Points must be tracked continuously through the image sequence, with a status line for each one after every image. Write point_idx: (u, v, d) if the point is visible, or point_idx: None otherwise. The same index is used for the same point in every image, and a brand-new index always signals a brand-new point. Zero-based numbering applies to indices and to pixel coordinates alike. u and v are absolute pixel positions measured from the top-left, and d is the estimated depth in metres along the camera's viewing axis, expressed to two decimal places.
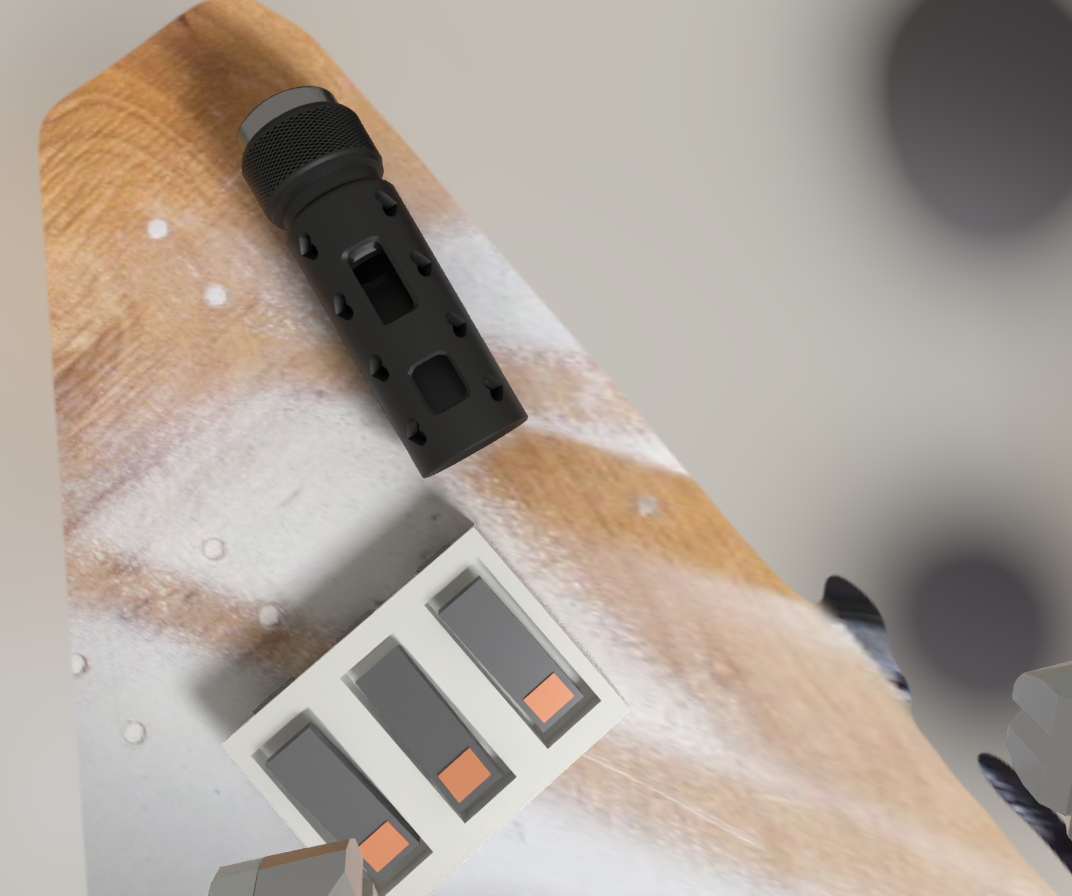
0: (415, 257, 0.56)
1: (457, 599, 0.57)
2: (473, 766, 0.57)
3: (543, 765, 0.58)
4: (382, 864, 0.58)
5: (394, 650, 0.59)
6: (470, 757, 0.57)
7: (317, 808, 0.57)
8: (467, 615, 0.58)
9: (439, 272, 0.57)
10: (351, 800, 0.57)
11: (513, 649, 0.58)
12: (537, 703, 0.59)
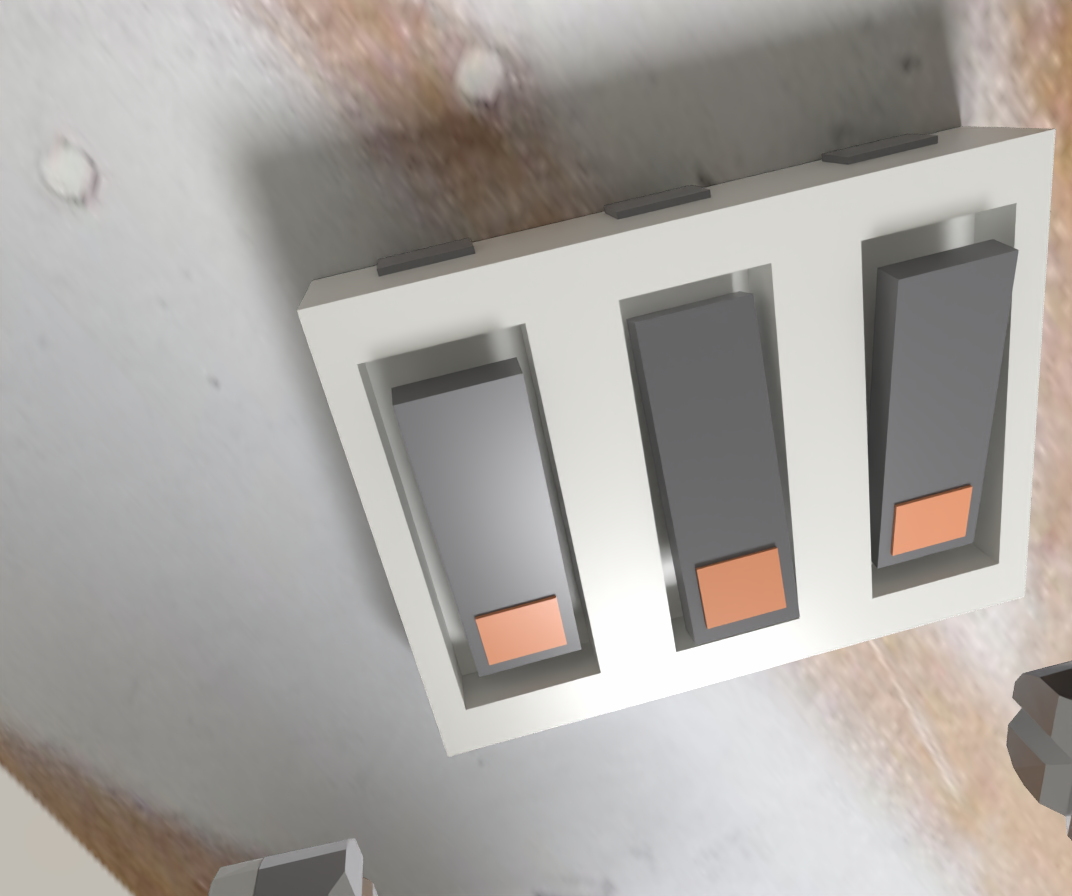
0: None
1: (951, 268, 0.25)
2: (764, 580, 0.29)
3: (849, 619, 0.31)
4: (503, 655, 0.30)
5: (743, 300, 0.26)
6: (767, 563, 0.28)
7: (450, 527, 0.26)
8: (940, 310, 0.25)
9: None
10: (518, 539, 0.27)
11: (951, 415, 0.28)
12: (907, 520, 0.30)
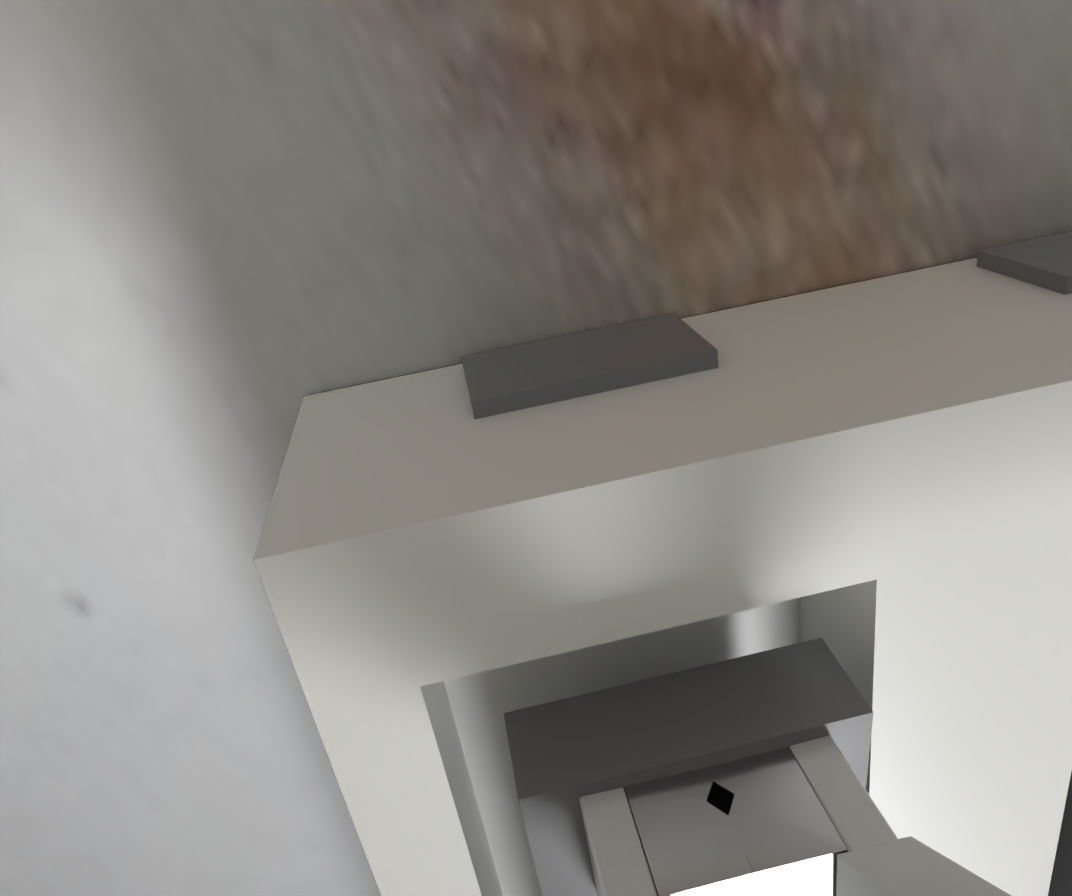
0: None
1: None
2: None
3: None
4: None
5: None
6: None
7: None
8: None
9: None
10: None
11: None
12: None
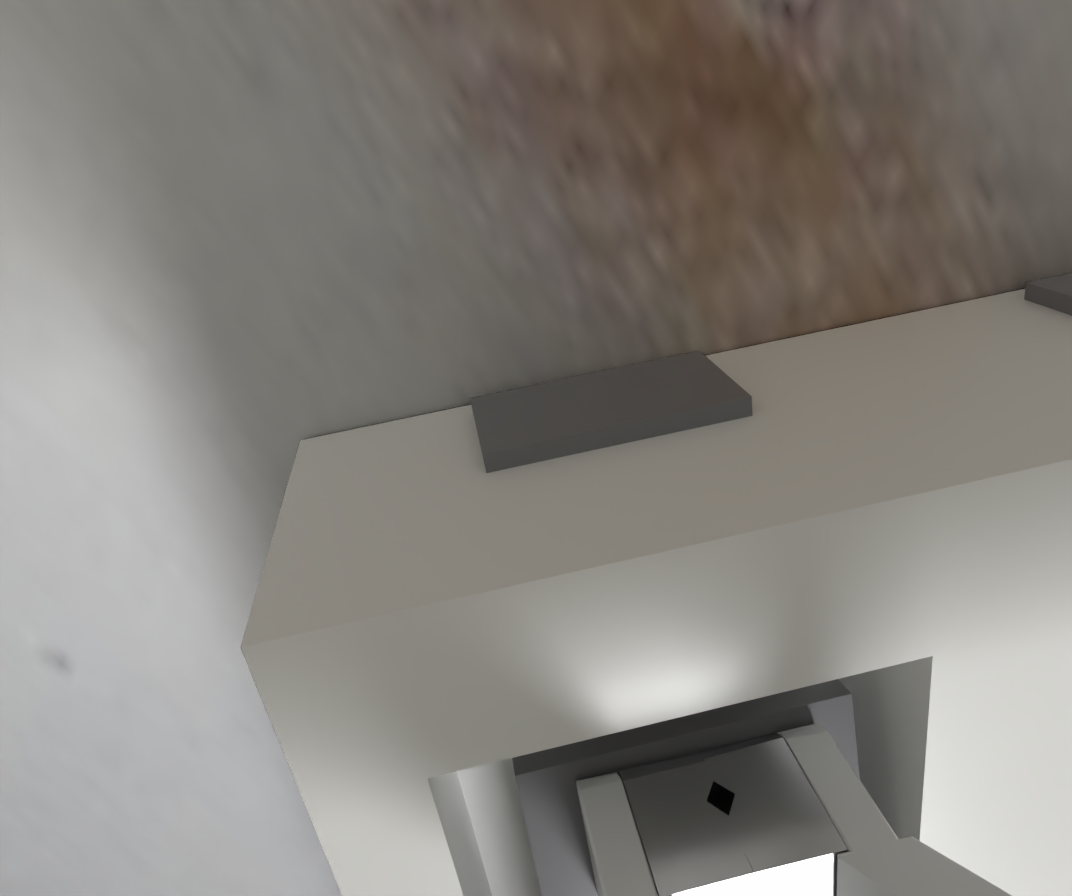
0: None
1: None
2: None
3: None
4: None
5: None
6: None
7: None
8: None
9: None
10: None
11: None
12: None
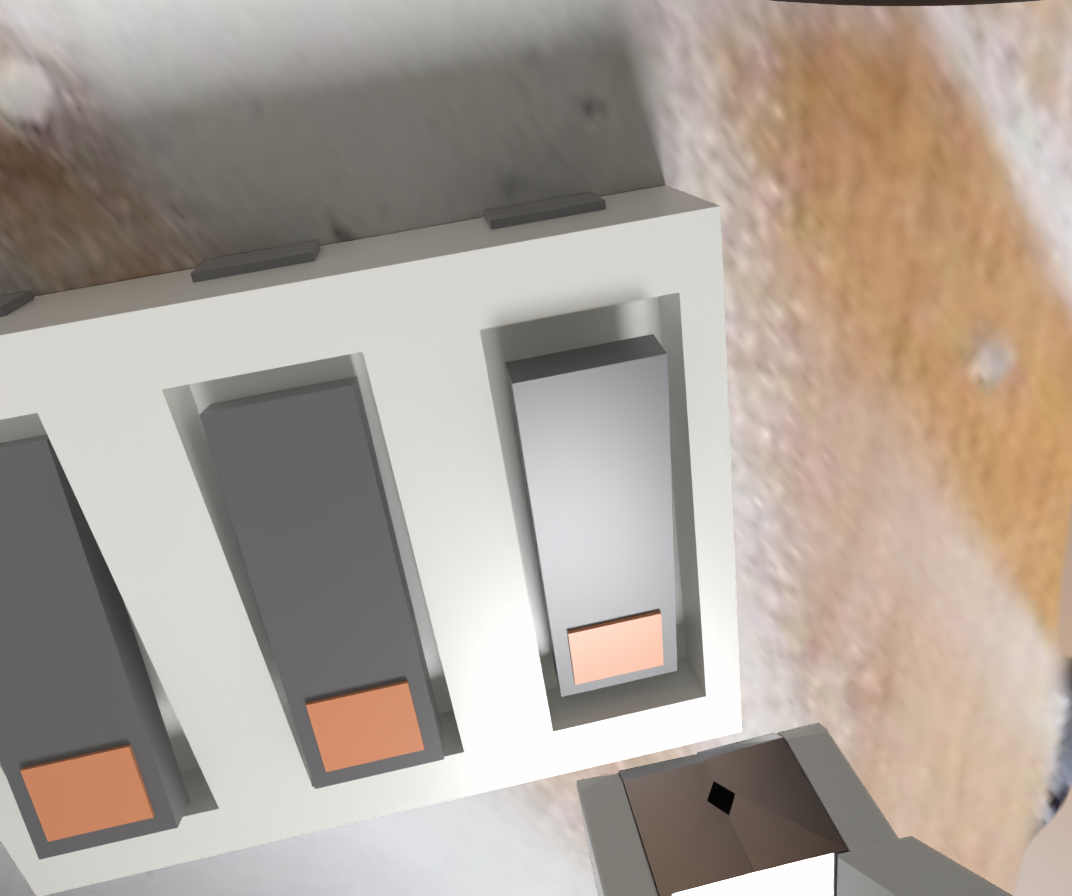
0: None
1: (581, 372, 0.20)
2: (395, 717, 0.24)
3: (527, 753, 0.27)
4: (69, 829, 0.23)
5: (340, 392, 0.21)
6: (398, 699, 0.24)
7: None
8: (577, 420, 0.21)
9: None
10: (69, 660, 0.22)
11: (619, 536, 0.23)
12: (588, 647, 0.25)
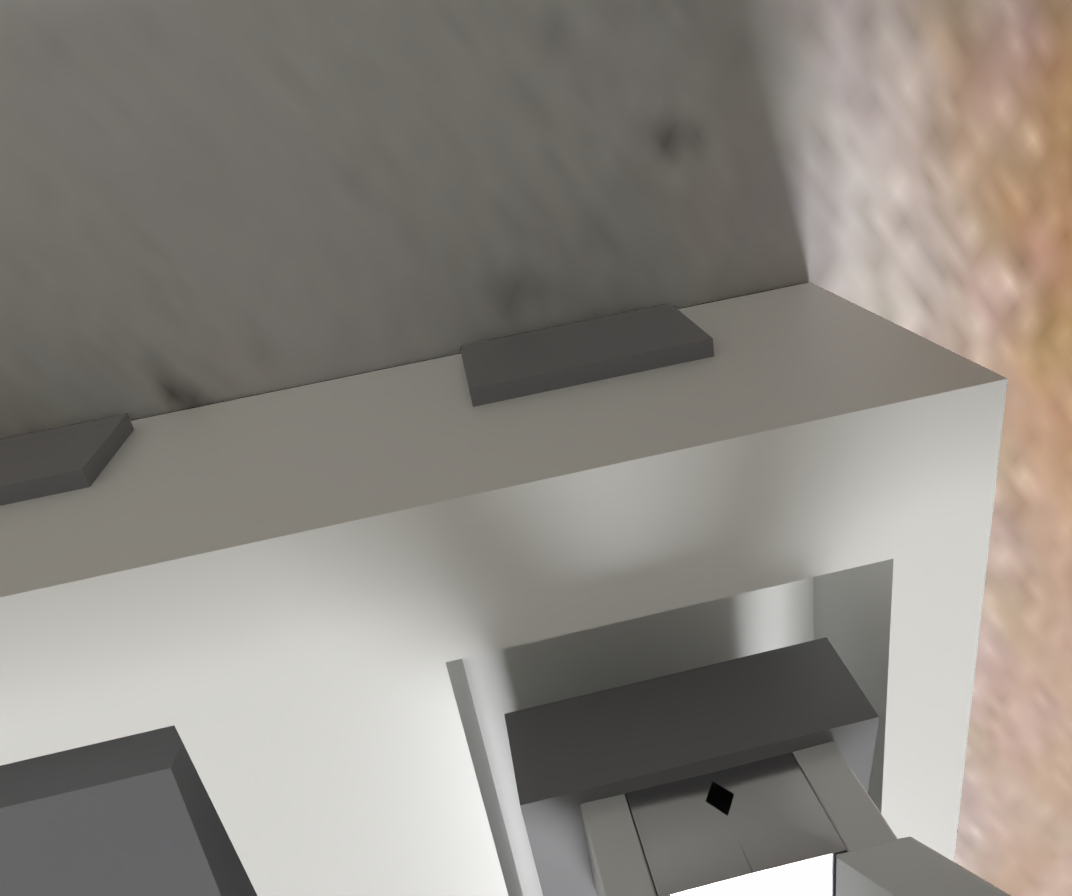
0: None
1: (681, 766, 0.09)
2: None
3: None
4: None
5: (144, 784, 0.09)
6: None
7: None
8: None
9: None
10: None
11: None
12: None
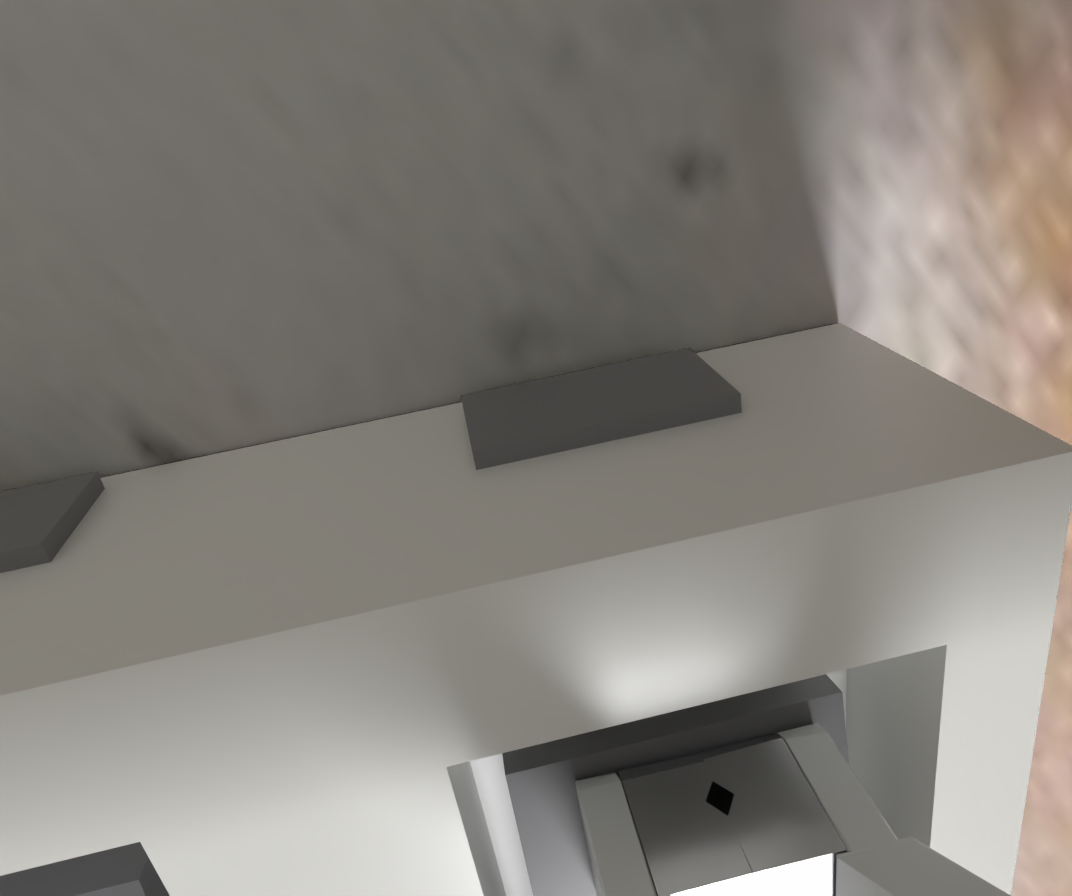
0: None
1: (657, 740, 0.09)
2: None
3: None
4: None
5: None
6: None
7: None
8: None
9: None
10: None
11: None
12: None
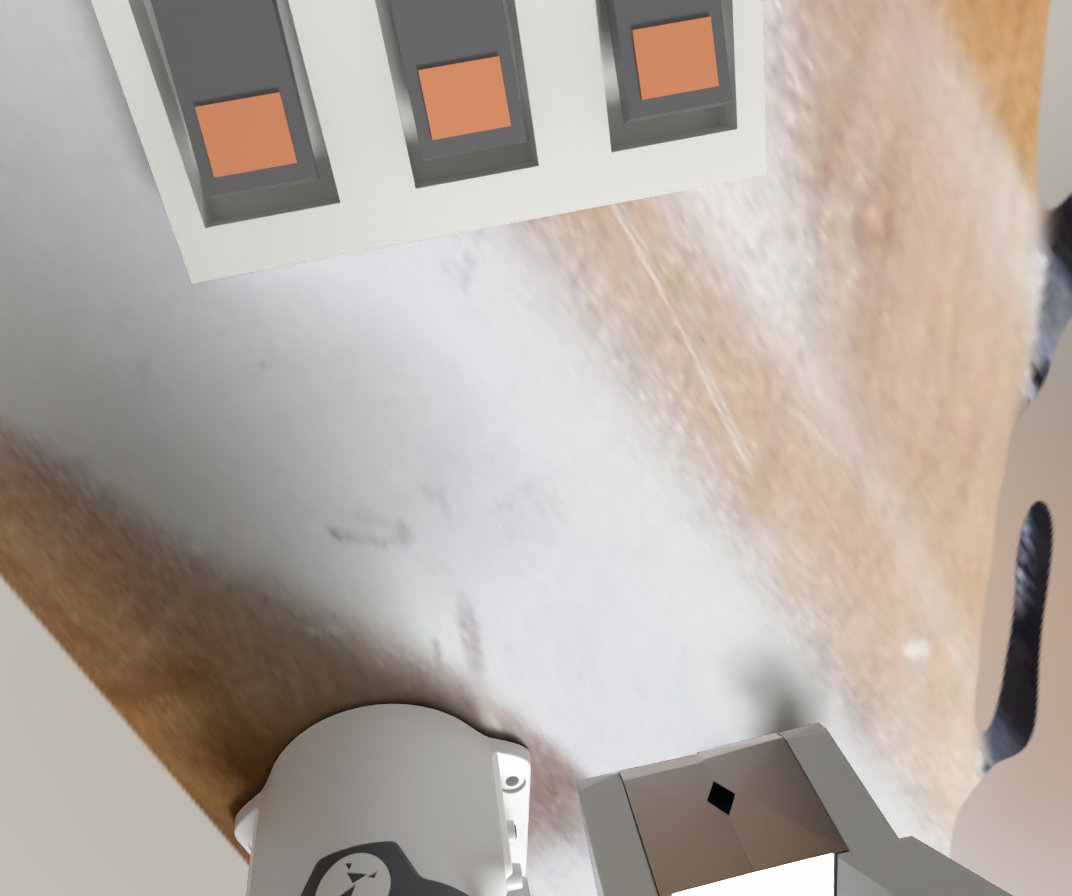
0: None
1: None
2: (488, 93, 0.29)
3: (589, 175, 0.32)
4: (230, 170, 0.29)
5: None
6: (491, 75, 0.29)
7: None
8: None
9: None
10: (234, 8, 0.28)
11: None
12: (650, 56, 0.30)
